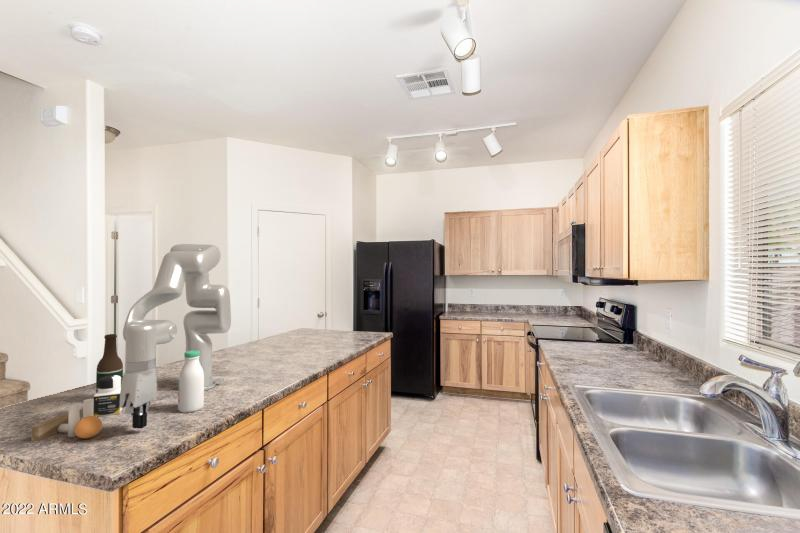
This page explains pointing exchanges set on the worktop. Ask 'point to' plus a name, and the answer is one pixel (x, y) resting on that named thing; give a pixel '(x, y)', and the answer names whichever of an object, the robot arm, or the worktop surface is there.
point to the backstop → (48, 426)
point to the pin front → (63, 428)
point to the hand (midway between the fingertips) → (139, 427)
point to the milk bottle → (191, 384)
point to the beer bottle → (109, 360)
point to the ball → (88, 427)
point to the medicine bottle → (108, 396)
